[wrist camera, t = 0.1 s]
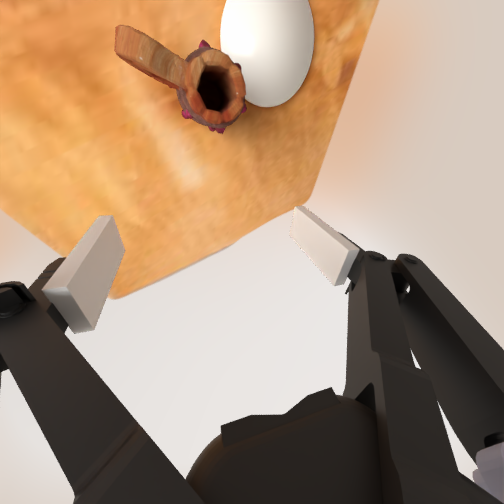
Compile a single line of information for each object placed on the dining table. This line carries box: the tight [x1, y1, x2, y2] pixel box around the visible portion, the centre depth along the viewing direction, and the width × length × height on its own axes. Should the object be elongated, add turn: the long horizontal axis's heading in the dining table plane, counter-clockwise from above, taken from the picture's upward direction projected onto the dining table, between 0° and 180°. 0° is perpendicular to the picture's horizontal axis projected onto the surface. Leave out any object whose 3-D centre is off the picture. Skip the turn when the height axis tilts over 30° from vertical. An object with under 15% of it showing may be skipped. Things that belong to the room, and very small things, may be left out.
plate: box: [220, 0, 314, 107], centre depth 31 cm, size 15×15×1 cm
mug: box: [115, 25, 247, 134], centre depth 25 cm, size 15×8×15 cm, turn 66°
